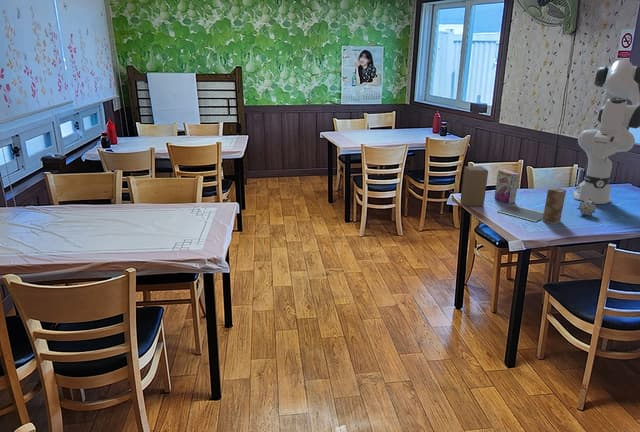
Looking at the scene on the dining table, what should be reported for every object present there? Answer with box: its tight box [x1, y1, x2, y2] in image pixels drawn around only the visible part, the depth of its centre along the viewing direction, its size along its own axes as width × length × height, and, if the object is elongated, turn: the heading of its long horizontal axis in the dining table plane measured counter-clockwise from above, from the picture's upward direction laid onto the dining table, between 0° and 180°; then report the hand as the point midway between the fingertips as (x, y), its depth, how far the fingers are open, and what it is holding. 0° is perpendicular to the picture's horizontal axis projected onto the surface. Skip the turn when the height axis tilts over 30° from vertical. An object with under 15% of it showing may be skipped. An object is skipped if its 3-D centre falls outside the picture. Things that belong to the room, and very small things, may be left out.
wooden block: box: [460, 165, 489, 207], centre depth 243 cm, size 10×10×20 cm
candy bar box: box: [493, 169, 520, 204], centre depth 249 cm, size 11×5×16 cm, turn 22°
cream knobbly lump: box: [576, 199, 599, 217], centre depth 229 cm, size 9×8×10 cm
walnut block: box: [542, 186, 567, 225], centre depth 219 cm, size 6×6×16 cm
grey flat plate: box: [496, 204, 544, 223], centre depth 231 cm, size 20×16×1 cm
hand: (601, 166), depth 206 cm, fingers closed
